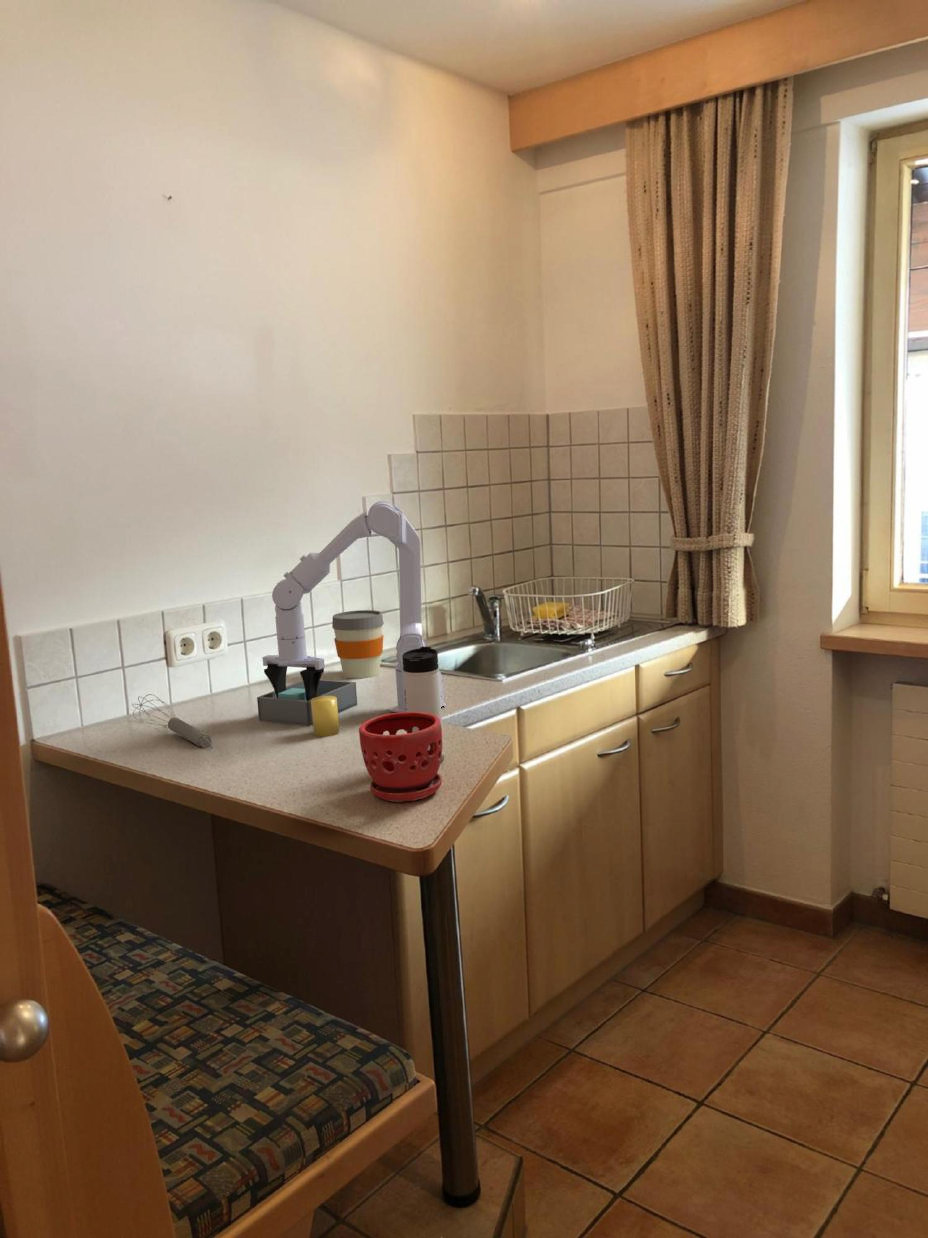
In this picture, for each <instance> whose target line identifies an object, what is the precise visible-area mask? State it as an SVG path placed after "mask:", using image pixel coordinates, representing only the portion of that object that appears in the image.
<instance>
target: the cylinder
mask: <svg viewBox="0 0 928 1238" xmlns="http://www.w3.org/2000/svg"><path fill="white" fill-rule="evenodd" d="M311 706H312V718H313V725H312V729H313V735H314V736H315V737H318V738H319V737H320V738H329V737H333V736H336V735H339V734H340V722H339V713H338V709H337V697H335V696H319V697H315V698H312V699H311Z"/></svg>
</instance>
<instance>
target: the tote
mask: <svg viewBox="0 0 928 1238" xmlns="http://www.w3.org/2000/svg"><path fill="white" fill-rule="evenodd" d="M291 688H299V689H305V686H304V682H303V679H302V680H299V681H296V682H294V683H291V684H288V685H286V690H289V689H291ZM319 696H335V697H337V709H338V714H340V713H341V712H344V711H347V710H349V709H350V708H353V707H355V706H357V705H358V696H357V682H355V681H346V680H345V681H343V680H342V681H341V680H332V679H331V680H330V679H320V681H319V684H318V688H317V693H316V697H319ZM256 701H257V712H258V721H259V722H260V721H261V722H269V723H281V724H289V725H290V724H291V725H298V726H299V725H300V726H313V718H312V706H311V700H309V701H303V700H291V699H280V698H277V696H276V693H275V691H274V690H273V691H270V692H268V693H265V694H263V695H260V696H257V698H256Z"/></svg>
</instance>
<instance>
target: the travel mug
mask: <svg viewBox="0 0 928 1238" xmlns="http://www.w3.org/2000/svg"><path fill="white" fill-rule="evenodd" d="M402 659H403V665H404V666H403V673H404V674H403V679H404V695H405V710H406V712H424V713H429V714H433V715H435V716H437V717H438V718H439V719H440V722H441V728H442V744H443V745H442V758H441V763H442V762H443V761H444V759H445V752H444V736H443V735H444V734H443V733H444V731H443V717H442V714H443V713H442V708H441V697H440V680H439V672H438V671H440V668H439V654H438V650H436V649H435V648H432V647H431V646H426V647H420V648H419V649H413V650H410V651H407V652H405V653H404V654H403V655H402ZM417 731H419V729H418V728H417V727H413V732H417ZM406 734H408V733H407V732H406ZM428 749H429V750H430V745H429V747H428Z"/></svg>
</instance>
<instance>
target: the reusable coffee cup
mask: <svg viewBox="0 0 928 1238" xmlns="http://www.w3.org/2000/svg"><path fill="white" fill-rule="evenodd" d="M331 625H332V627H331V628H332V629H333V631H334V635H335V636H334V637H335V638H334V640H333V641H334V644H335V650H336V653H337V654H336V655H337V657H338V658H339V661H340V665H341V670H342V675H343V677H344V678H346V679H355V680H357V679H367V678H373V677H376V676H378V675H380V673H381V671H380V670H381V655H382V654H383V651H384V650H383V649H384V635H383V625H384V617H383V612H382V611H380V610H369V609H368V610H367V609H366V610H365V609H363V610H361V609H360V610H348V611H344V612H343V611H342V612H338V613H336V614H333V615H332V624H331Z"/></svg>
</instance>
